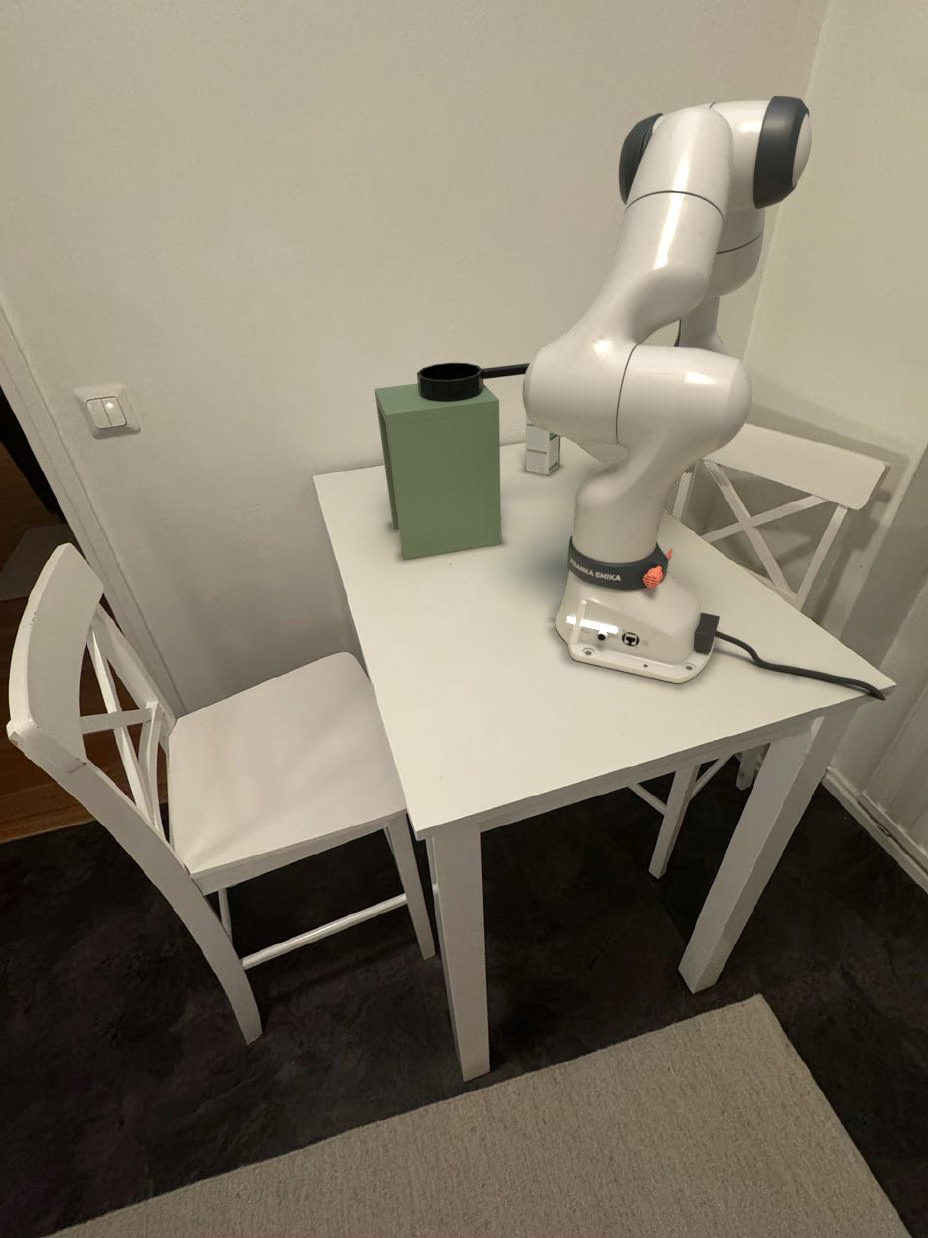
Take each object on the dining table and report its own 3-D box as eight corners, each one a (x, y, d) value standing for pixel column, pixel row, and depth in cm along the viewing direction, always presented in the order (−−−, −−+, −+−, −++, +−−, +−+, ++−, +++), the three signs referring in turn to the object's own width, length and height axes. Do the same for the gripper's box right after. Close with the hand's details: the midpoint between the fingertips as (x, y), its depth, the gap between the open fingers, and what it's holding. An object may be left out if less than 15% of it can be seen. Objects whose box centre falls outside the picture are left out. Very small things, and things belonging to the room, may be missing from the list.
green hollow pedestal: (481, 510, 121) (476, 376, 106) (501, 543, 110) (499, 399, 95) (392, 524, 118) (374, 388, 103) (404, 560, 107) (385, 414, 92)
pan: (561, 368, 107) (562, 349, 105) (584, 385, 99) (585, 364, 97) (414, 386, 102) (412, 366, 100) (426, 405, 94) (424, 383, 92)
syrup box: (548, 475, 133) (550, 409, 124) (524, 470, 135) (525, 405, 127) (559, 466, 136) (562, 401, 128) (536, 461, 139) (538, 397, 130)
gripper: (630, 376, 116) (574, 345, 110) (686, 409, 100) (624, 375, 94) (612, 407, 119) (556, 378, 113) (664, 444, 103) (602, 413, 97)
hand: (587, 377), depth 103 cm, fingers open, 8 cm apart
